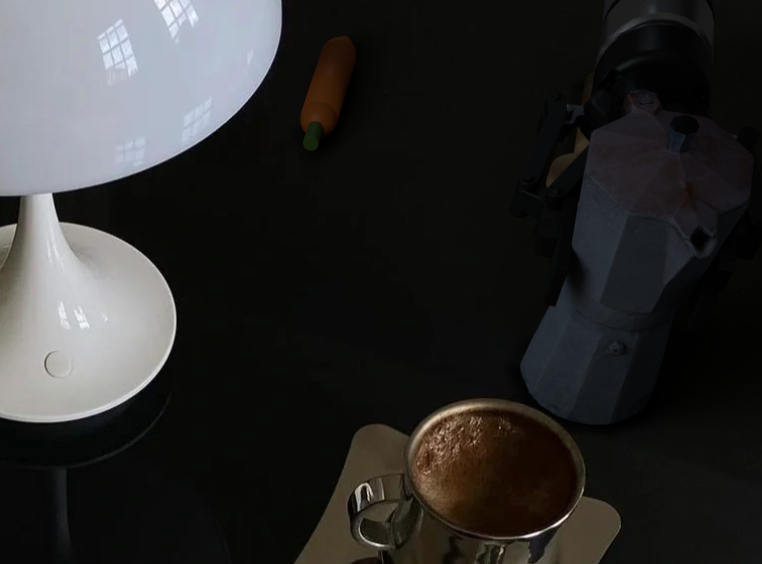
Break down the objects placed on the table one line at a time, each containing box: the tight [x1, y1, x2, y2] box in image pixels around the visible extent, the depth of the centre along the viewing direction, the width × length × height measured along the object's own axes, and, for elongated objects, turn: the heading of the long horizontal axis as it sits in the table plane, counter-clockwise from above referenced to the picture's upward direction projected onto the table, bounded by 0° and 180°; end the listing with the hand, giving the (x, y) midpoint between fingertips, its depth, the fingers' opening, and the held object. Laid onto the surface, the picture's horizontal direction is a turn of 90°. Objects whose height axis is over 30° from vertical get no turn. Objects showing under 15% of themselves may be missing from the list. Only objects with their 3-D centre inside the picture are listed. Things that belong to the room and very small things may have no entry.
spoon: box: [545, 71, 595, 209], centre depth 101 cm, size 15×5×2 cm, turn 166°
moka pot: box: [519, 69, 754, 426], centre depth 80 cm, size 10×15×20 cm, turn 12°
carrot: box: [299, 34, 357, 152], centre depth 102 cm, size 14×3×3 cm, turn 166°
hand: (628, 301), depth 77 cm, fingers closed on moka pot, 8 cm apart
